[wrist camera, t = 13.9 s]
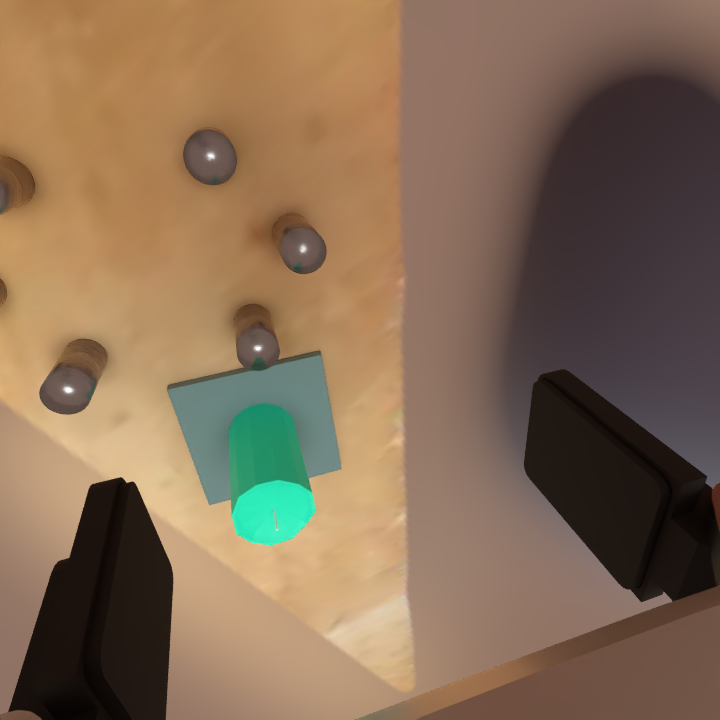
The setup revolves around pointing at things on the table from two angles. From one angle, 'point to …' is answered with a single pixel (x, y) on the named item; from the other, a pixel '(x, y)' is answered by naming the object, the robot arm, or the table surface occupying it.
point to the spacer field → (252, 322)
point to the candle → (267, 476)
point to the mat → (248, 388)
